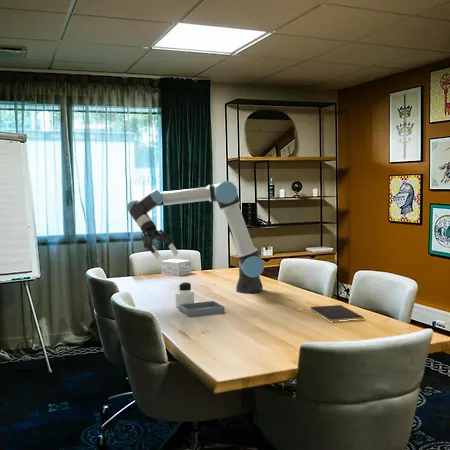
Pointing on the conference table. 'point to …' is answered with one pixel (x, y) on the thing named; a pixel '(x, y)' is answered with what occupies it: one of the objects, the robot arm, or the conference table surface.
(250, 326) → the conference table surface
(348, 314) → the hardcover book
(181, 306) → the tray
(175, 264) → the supplement box
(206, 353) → the conference table surface
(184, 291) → the medicine bottle
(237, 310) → the conference table surface
